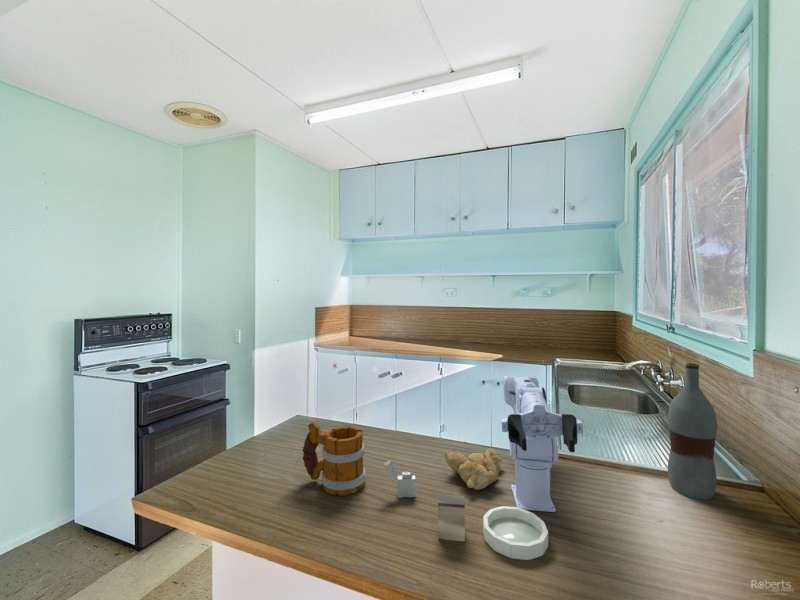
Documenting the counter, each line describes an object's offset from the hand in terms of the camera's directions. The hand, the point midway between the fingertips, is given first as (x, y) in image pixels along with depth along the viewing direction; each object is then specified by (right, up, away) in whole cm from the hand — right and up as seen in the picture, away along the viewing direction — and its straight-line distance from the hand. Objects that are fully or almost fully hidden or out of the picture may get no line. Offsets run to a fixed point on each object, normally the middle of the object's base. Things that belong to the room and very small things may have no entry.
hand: (548, 445), depth 61 cm
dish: (-3, -21, +8) cm, 22 cm away
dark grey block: (-15, -21, +9) cm, 27 cm away
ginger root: (-6, -21, +29) cm, 37 cm away
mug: (-42, -21, +28) cm, 54 cm away
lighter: (-25, -21, +22) cm, 40 cm away
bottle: (+44, -20, +24) cm, 54 cm away
